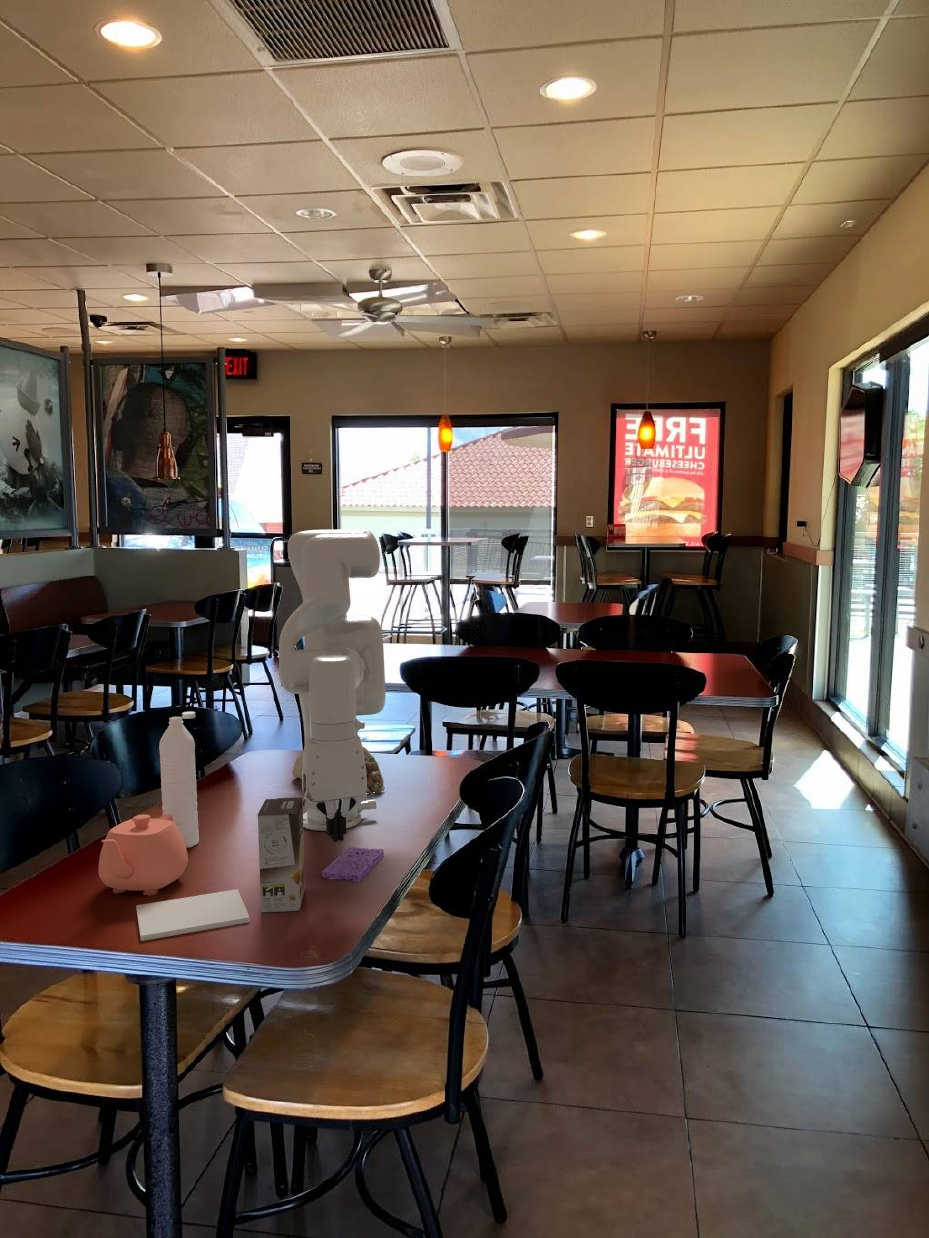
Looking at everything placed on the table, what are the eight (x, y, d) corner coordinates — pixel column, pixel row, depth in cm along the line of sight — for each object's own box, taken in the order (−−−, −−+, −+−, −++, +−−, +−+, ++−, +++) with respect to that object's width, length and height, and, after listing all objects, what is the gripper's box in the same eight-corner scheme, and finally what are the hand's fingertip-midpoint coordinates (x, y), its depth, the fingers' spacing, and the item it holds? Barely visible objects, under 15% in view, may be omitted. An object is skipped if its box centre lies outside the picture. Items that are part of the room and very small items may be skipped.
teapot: (71, 907, 150) (66, 834, 148) (140, 862, 169) (137, 798, 168) (144, 914, 147) (140, 840, 145) (206, 868, 166) (204, 802, 165)
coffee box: (301, 911, 147) (297, 813, 145) (260, 913, 146) (256, 815, 144) (306, 888, 156) (303, 796, 154) (267, 890, 155) (264, 797, 154)
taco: (312, 773, 229) (310, 733, 228) (395, 790, 213) (394, 747, 212) (283, 782, 221) (281, 741, 220) (367, 801, 205) (365, 756, 204)
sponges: (384, 858, 171) (384, 848, 170) (359, 884, 159) (359, 874, 158) (348, 855, 172) (348, 846, 172) (321, 881, 160) (321, 870, 160)
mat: (237, 893, 154) (237, 889, 154) (249, 922, 143) (249, 917, 143) (136, 910, 148) (136, 905, 148) (140, 941, 137) (140, 935, 137)
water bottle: (186, 851, 174) (180, 721, 172) (156, 848, 176) (150, 719, 174) (212, 836, 183) (206, 712, 180) (183, 833, 185) (178, 710, 182)
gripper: (370, 721, 158) (372, 825, 160) (283, 730, 152) (287, 838, 154) (383, 730, 151) (386, 839, 153) (293, 740, 145) (297, 852, 147)
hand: (336, 838), depth 153 cm, fingers closed
